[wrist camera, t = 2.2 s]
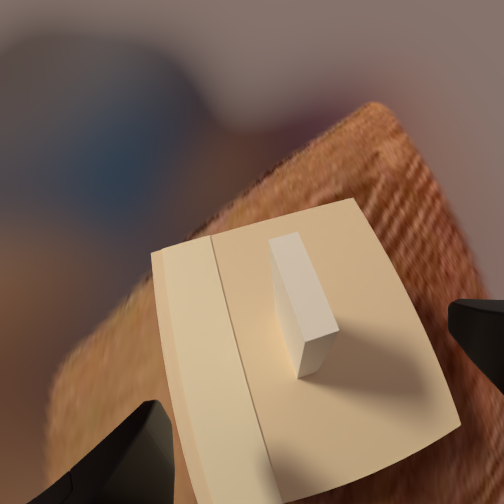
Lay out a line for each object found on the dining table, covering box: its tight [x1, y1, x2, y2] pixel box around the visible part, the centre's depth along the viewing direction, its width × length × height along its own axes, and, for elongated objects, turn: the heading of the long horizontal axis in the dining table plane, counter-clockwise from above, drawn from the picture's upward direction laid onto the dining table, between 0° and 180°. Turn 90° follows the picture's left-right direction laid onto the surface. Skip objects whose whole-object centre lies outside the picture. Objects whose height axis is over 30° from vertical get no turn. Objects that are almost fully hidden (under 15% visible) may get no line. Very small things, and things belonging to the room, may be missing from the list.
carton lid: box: [151, 198, 461, 504], centre depth 9 cm, size 12×10×6 cm
